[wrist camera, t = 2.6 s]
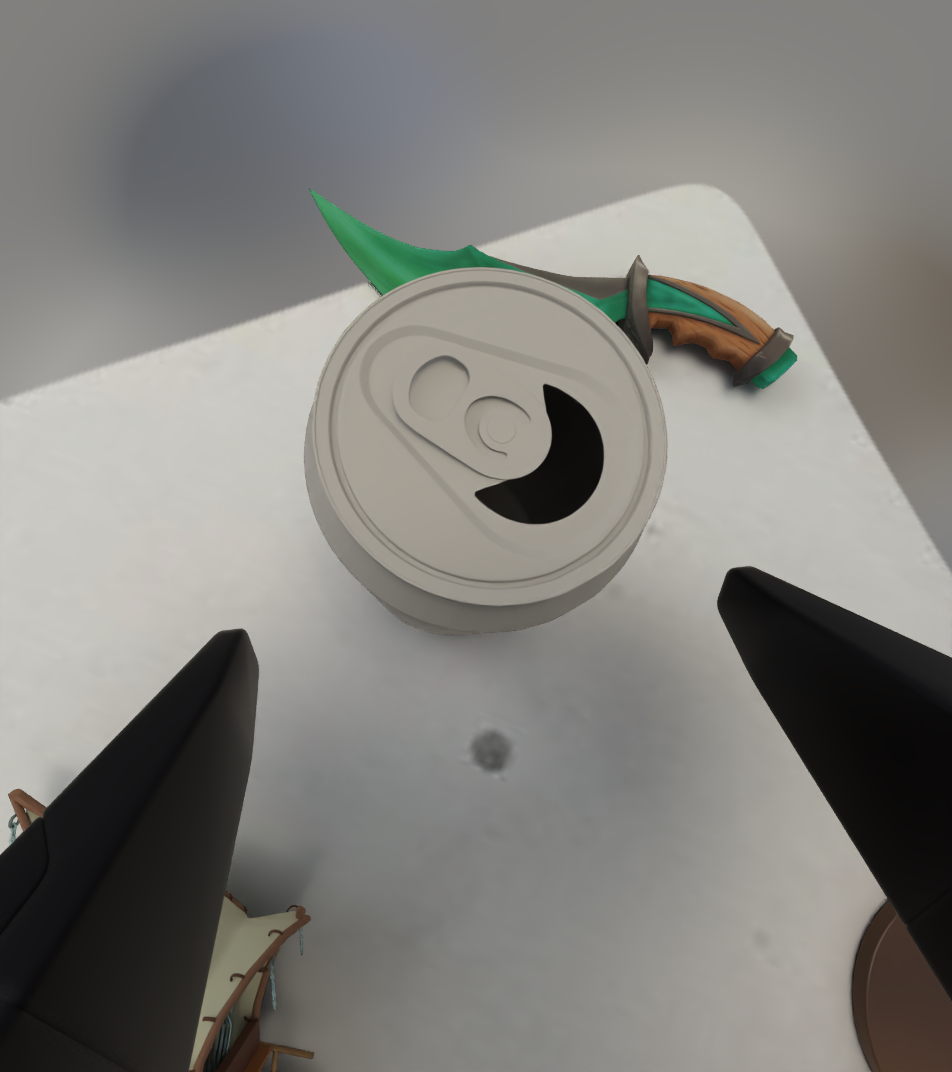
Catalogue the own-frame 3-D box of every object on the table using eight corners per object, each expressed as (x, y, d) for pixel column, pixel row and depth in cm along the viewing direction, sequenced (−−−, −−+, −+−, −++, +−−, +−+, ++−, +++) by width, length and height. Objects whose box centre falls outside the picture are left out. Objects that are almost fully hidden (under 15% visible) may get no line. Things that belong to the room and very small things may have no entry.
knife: (772, 411, 22) (787, 304, 23) (800, 396, 21) (816, 280, 21) (288, 309, 22) (315, 202, 22) (273, 284, 20) (302, 168, 20)
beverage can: (477, 667, 19) (579, 719, 7) (329, 576, 19) (190, 479, 7) (559, 525, 20) (756, 375, 9) (422, 440, 20) (432, 174, 9)
